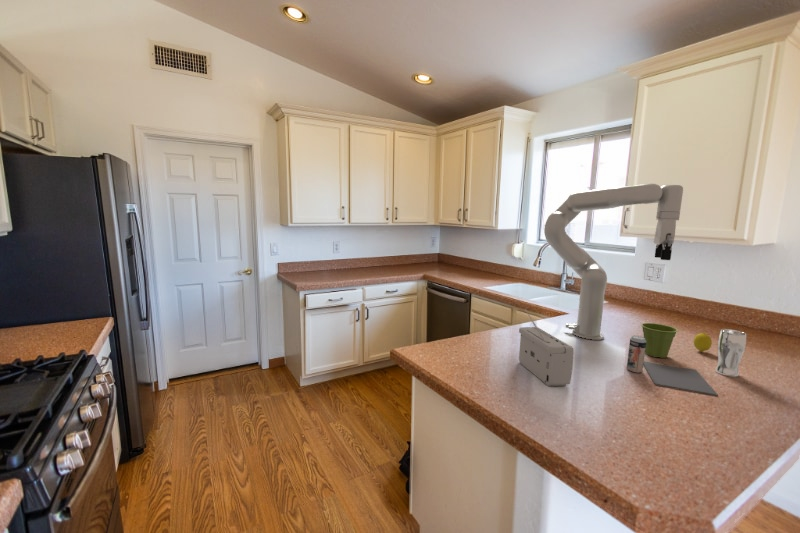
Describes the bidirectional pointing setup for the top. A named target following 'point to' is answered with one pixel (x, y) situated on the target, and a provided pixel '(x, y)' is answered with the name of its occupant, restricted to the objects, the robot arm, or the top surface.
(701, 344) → the lemon
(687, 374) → the rubber mat
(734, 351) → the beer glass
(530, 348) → the stereo radio cassette player
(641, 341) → the beer can
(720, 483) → the top surface
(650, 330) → the plant pot
